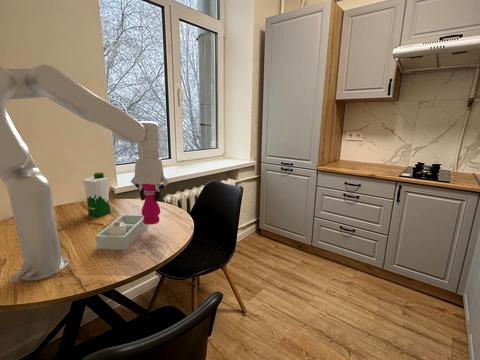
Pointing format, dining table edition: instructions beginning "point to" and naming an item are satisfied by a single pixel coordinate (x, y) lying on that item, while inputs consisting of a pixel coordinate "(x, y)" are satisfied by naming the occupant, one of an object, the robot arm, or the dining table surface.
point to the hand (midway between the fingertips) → (150, 199)
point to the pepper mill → (150, 205)
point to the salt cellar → (117, 229)
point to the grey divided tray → (122, 242)
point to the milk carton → (97, 195)
